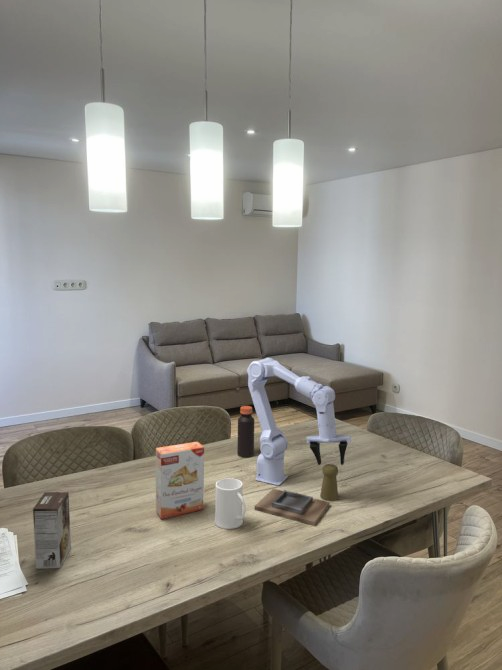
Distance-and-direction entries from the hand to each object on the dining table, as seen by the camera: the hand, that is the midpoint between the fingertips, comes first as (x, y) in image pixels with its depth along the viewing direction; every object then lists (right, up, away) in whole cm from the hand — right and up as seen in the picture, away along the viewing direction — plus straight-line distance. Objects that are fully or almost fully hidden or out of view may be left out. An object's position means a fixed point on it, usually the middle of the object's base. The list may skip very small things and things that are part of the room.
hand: (331, 463), depth 158 cm
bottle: (-29, -7, +37) cm, 48 cm away
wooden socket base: (-13, -12, -7) cm, 19 cm away
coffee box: (-78, -15, -35) cm, 87 cm away
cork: (0, -12, +1) cm, 12 cm away
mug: (-32, -14, -17) cm, 39 cm away
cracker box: (-49, -12, -10) cm, 51 cm away
